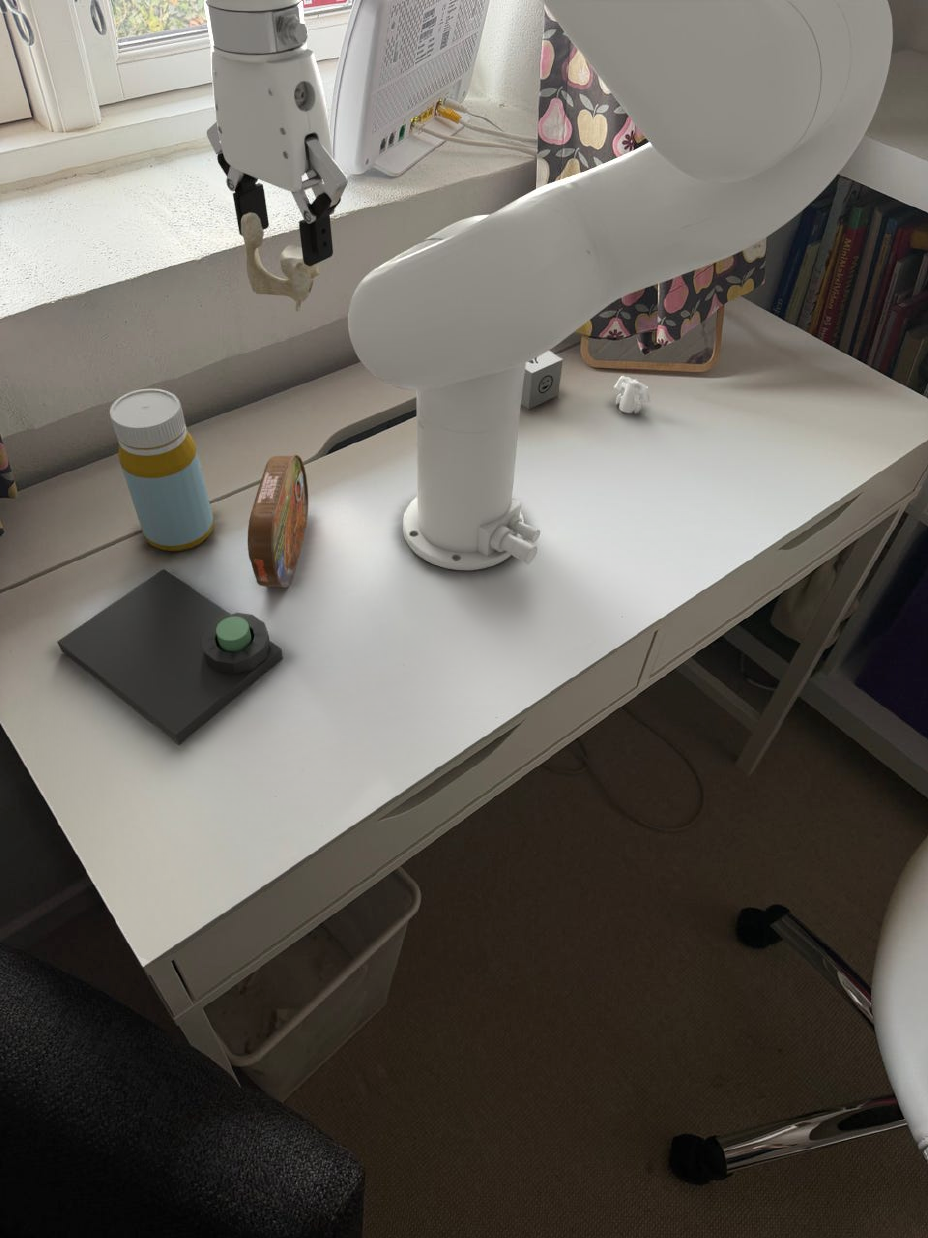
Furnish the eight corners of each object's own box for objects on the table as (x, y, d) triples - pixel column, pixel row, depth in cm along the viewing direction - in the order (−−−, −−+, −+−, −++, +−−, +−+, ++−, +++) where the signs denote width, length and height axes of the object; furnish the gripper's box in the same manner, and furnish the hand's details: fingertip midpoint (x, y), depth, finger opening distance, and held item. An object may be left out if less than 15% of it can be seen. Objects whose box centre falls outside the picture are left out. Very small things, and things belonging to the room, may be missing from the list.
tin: (286, 606, 84) (274, 541, 78) (253, 604, 84) (239, 539, 78) (312, 502, 94) (304, 437, 88) (283, 501, 94) (272, 436, 88)
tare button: (258, 638, 78) (255, 626, 77) (234, 657, 76) (231, 645, 75) (236, 623, 79) (233, 611, 78) (212, 641, 77) (209, 630, 76)
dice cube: (501, 390, 109) (503, 354, 105) (530, 376, 111) (534, 341, 108) (528, 409, 107) (531, 373, 103) (558, 395, 109) (562, 359, 105)
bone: (358, 281, 85) (305, 205, 76) (319, 334, 85) (261, 264, 76) (300, 255, 89) (243, 180, 80) (263, 305, 89) (202, 236, 80)
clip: (648, 413, 107) (654, 386, 104) (640, 419, 106) (646, 392, 103) (614, 397, 109) (619, 370, 106) (605, 403, 108) (610, 376, 105)
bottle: (198, 559, 88) (165, 435, 77) (133, 548, 88) (90, 424, 77) (225, 514, 92) (197, 391, 81) (162, 504, 93) (126, 380, 82)
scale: (286, 656, 80) (282, 634, 78) (179, 745, 73) (171, 724, 71) (169, 576, 86) (163, 554, 84) (61, 651, 79) (50, 629, 77)
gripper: (370, 39, 68) (381, 261, 81) (222, -3, 75) (254, 206, 88) (298, 61, 64) (322, 290, 77) (149, 15, 71) (194, 231, 84)
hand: (285, 244), depth 82 cm, fingers closed on bone, 8 cm apart
